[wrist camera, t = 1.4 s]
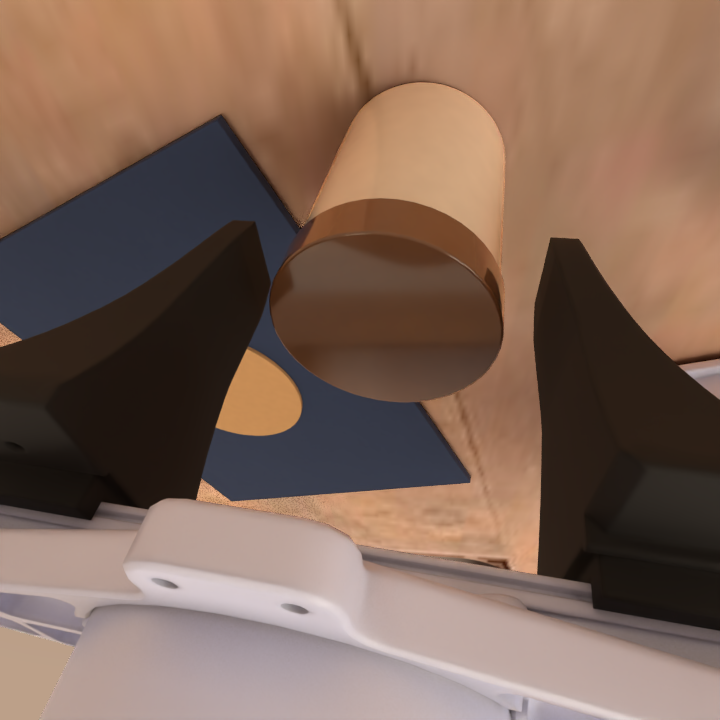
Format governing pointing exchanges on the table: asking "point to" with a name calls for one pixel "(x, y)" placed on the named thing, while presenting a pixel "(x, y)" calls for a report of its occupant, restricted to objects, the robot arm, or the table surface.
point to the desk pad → (265, 351)
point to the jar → (401, 252)
